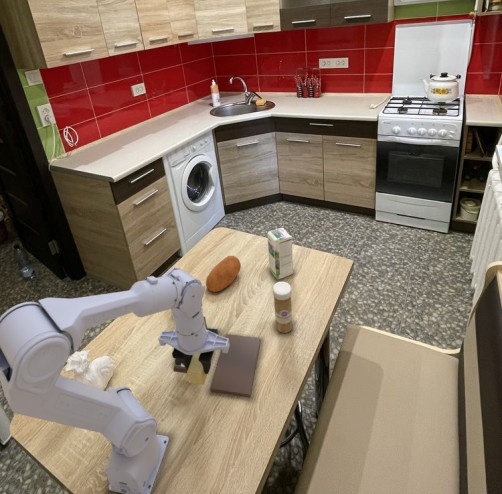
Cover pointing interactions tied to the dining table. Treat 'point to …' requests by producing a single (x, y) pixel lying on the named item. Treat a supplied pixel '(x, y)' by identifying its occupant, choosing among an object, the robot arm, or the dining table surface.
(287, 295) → the sprinkles bottle
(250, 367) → the board
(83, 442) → the dining table surface
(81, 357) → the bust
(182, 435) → the dining table surface
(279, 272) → the syrup box
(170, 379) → the dining table surface
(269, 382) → the dining table surface
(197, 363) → the butter
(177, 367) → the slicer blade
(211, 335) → the robot arm
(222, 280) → the potato
